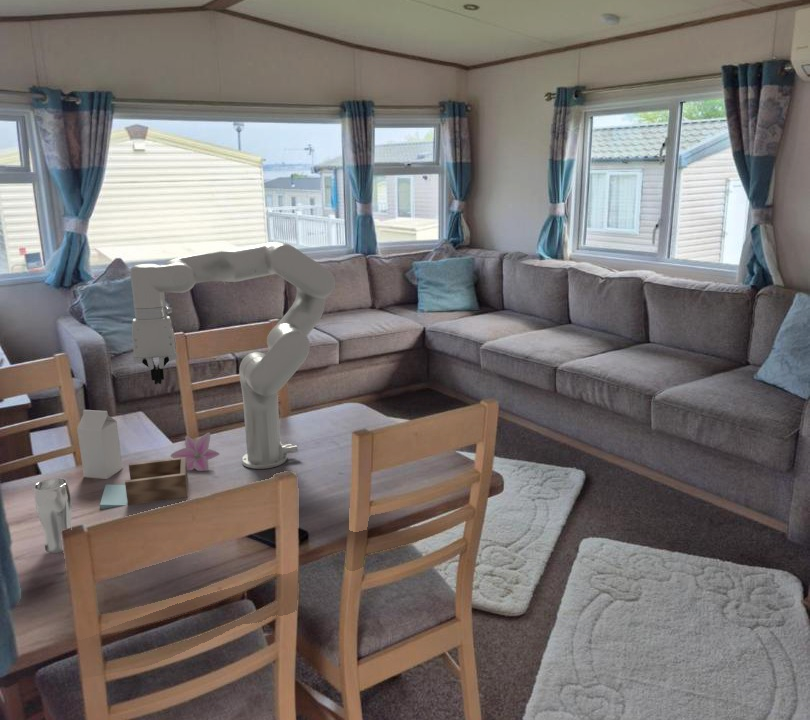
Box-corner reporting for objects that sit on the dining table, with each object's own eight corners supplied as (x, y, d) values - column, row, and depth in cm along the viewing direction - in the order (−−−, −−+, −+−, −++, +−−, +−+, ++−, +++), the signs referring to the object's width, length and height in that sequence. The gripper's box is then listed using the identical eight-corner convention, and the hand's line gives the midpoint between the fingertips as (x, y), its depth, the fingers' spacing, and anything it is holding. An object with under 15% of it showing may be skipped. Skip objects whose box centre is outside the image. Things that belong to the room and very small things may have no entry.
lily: (168, 473, 192) (163, 452, 186) (196, 445, 200) (192, 423, 194) (203, 491, 189) (199, 470, 183) (229, 462, 197) (227, 441, 191)
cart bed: (188, 481, 184) (185, 456, 182) (188, 501, 173) (185, 474, 171) (132, 489, 180) (129, 463, 179) (128, 509, 169) (125, 482, 167)
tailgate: (130, 485, 180) (105, 484, 178) (126, 505, 169) (100, 504, 167) (130, 489, 180) (105, 488, 178) (126, 509, 169) (99, 509, 167)
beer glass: (54, 557, 148) (44, 493, 144) (36, 549, 152) (25, 486, 148) (84, 543, 154) (75, 481, 150) (65, 535, 157) (56, 474, 153)
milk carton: (107, 483, 184) (98, 415, 179) (84, 481, 186) (74, 414, 181) (123, 472, 191) (115, 407, 186) (100, 470, 192) (91, 405, 188)
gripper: (181, 308, 180) (188, 376, 185) (120, 312, 176) (128, 381, 181) (181, 313, 173) (188, 383, 178) (117, 318, 169) (126, 389, 174)
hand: (158, 382), depth 180 cm, fingers closed
